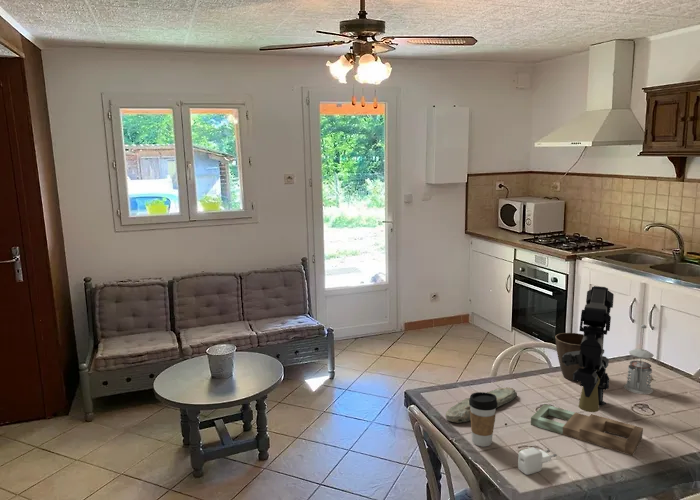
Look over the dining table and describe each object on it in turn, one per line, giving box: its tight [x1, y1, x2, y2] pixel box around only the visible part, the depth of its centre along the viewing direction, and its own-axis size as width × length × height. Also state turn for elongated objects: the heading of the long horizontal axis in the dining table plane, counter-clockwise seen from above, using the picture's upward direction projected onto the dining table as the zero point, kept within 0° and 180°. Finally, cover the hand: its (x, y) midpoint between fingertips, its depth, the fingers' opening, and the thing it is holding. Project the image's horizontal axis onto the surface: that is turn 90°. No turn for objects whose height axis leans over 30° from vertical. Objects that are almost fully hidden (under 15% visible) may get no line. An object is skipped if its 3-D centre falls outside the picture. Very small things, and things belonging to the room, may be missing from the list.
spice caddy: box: [530, 403, 644, 456], centre depth 174 cm, size 30×12×4 cm, turn 51°
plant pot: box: [555, 332, 584, 382], centre depth 215 cm, size 15×15×16 cm
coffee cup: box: [469, 391, 498, 447], centre depth 167 cm, size 8×8×15 cm
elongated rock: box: [445, 386, 518, 424], centre depth 191 cm, size 35×5×10 cm
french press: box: [623, 324, 654, 395], centre depth 202 cm, size 10×12×25 cm
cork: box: [578, 377, 600, 413], centre depth 171 cm, size 6×6×11 cm
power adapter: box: [517, 446, 557, 476], centre depth 154 cm, size 11×5×6 cm, turn 114°
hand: (589, 394), depth 172 cm, fingers closed on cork, 4 cm apart
